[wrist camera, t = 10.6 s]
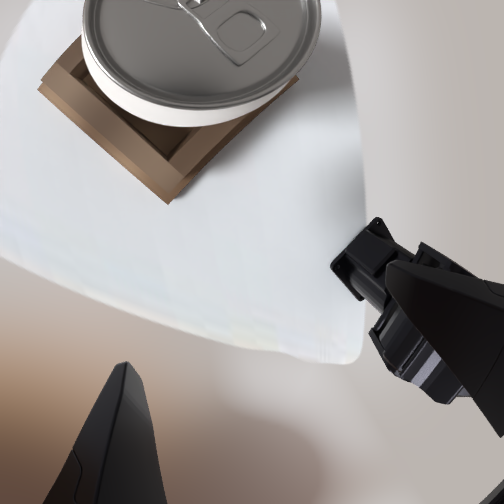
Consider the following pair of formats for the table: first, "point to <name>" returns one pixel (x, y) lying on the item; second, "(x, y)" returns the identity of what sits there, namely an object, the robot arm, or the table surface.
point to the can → (196, 54)
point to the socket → (137, 128)
